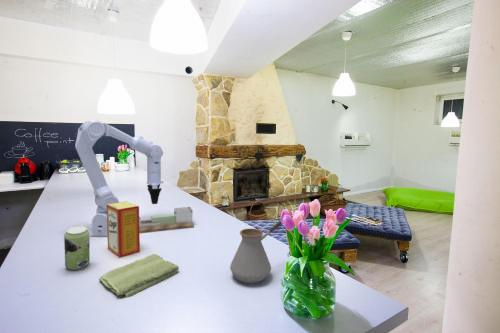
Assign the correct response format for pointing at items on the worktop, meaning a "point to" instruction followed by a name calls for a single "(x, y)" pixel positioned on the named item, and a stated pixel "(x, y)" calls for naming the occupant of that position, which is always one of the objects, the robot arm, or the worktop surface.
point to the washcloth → (138, 275)
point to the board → (165, 227)
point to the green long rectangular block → (164, 219)
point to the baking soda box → (123, 228)
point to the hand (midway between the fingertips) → (154, 201)
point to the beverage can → (76, 247)
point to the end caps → (181, 218)
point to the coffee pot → (251, 257)
